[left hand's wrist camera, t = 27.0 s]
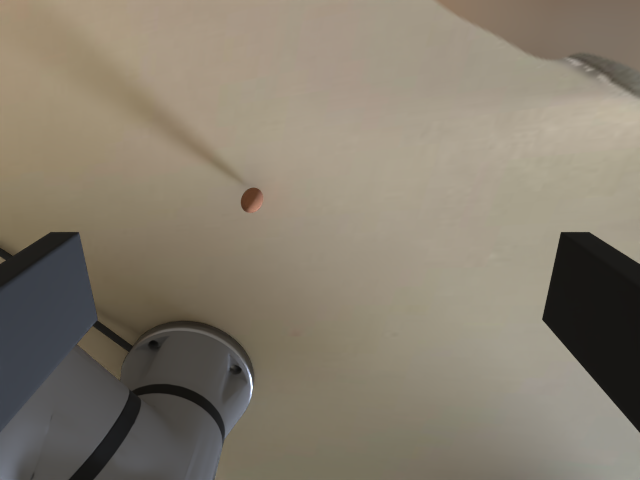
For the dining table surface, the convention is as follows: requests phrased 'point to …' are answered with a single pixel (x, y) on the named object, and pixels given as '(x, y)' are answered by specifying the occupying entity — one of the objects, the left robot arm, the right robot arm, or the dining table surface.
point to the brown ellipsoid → (252, 200)
